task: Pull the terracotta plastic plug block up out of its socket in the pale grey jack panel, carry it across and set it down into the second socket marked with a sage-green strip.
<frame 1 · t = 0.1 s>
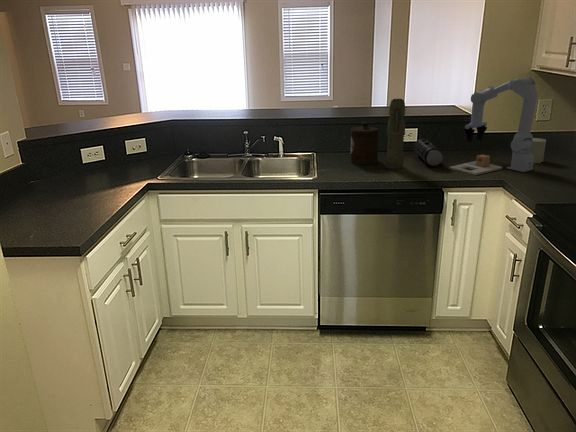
hand: (474, 140, 258), 10 cm above the worktop, tool pointing down, fingers open, 7 cm apart
jack panel: (475, 168, 242), on the worktop
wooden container: (363, 161, 264), on the worktop
plug: (482, 167, 244), resting in jack panel
olive rounded pillar: (394, 167, 250), on the worktop
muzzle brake: (427, 162, 258), on the worktop
can: (533, 161, 253), on the worktop
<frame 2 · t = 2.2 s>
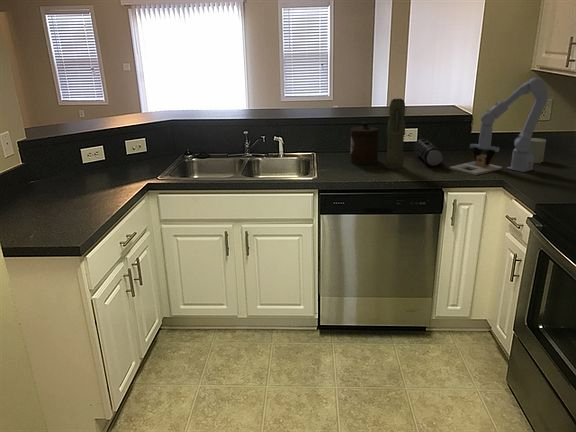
hand: (482, 163, 244), 2 cm above the worktop, tool pointing down, fingers closed on plug, 5 cm apart
plug: (482, 167, 244), resting in jack panel, touching gripper
everything else where it was.
when the fingers open (2 cm above the worktop, at t = 7.4 s): plug stays where it is, resting in jack panel.
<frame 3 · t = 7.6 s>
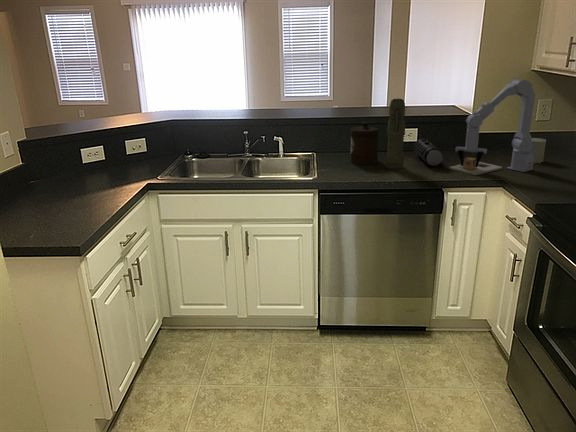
hand: (469, 166, 239), 2 cm above the worktop, tool pointing down, fingers open, 6 cm apart
plug: (468, 170, 240), resting in jack panel
everything else where it was.
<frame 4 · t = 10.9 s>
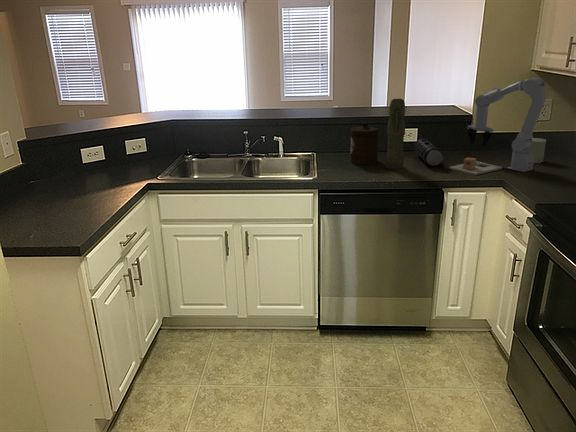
hand: (478, 144, 252), 9 cm above the worktop, tool pointing down, fingers open, 7 cm apart
nothing on the worktop moved.
at the end: plug 0.0 cm from the target spot on the jack panel, point 0.0 cm above the jack panel's base; plug tilted 0°; the gripper is holding nothing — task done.
